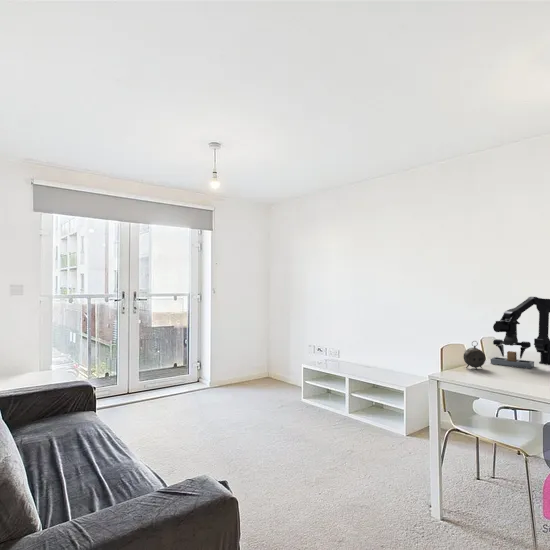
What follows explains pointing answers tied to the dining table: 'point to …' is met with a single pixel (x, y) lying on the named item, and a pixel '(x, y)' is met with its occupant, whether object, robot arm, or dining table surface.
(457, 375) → the dining table surface
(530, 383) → the dining table surface
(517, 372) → the dining table surface
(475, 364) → the alarm clock
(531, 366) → the rail
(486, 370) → the dining table surface
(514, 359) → the square peg
